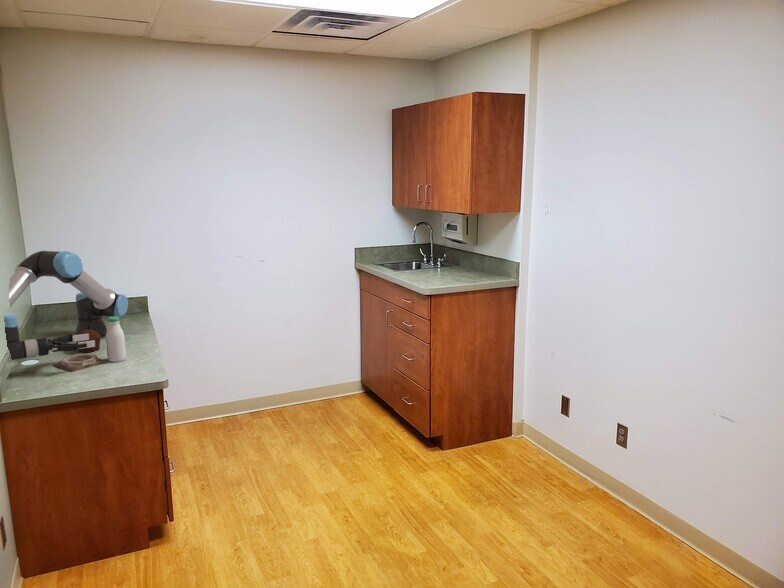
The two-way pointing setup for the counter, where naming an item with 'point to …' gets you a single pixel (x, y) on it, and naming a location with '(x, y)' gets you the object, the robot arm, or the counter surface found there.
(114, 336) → the milk bottle
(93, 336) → the muffin
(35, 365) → the counter surface
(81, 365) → the ring stand
